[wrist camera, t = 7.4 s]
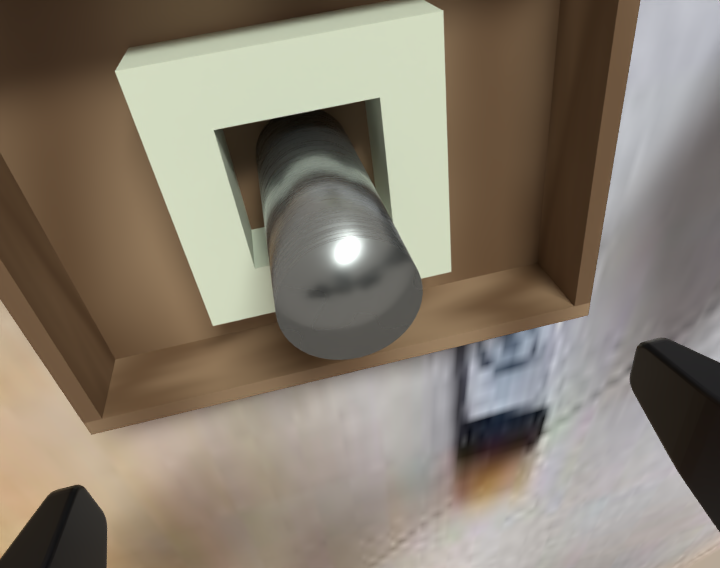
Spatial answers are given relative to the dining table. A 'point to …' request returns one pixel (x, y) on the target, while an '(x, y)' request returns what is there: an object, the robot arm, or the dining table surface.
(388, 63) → the bore plate
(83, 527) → the robot arm
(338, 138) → the peg
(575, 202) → the crate
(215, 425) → the dining table surface
